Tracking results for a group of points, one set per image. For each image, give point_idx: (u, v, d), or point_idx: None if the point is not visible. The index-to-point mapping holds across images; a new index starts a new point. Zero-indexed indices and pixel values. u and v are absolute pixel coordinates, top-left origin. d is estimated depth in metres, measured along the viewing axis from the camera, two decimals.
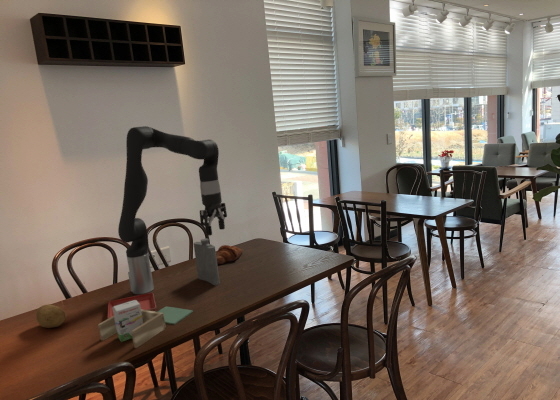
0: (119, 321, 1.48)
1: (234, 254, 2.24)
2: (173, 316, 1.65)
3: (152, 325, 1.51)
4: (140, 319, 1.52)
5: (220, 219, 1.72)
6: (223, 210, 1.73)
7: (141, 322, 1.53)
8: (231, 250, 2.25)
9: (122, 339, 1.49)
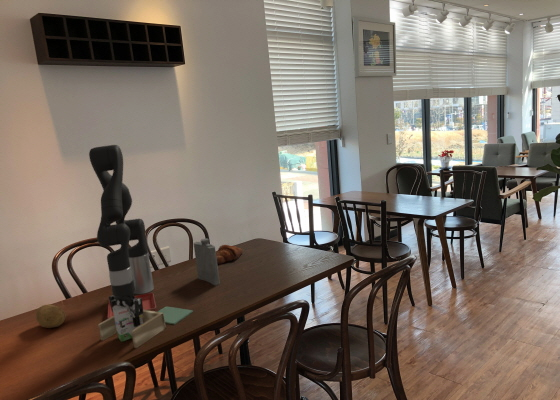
0: (120, 321, 1.48)
1: (234, 254, 2.25)
2: (173, 316, 1.65)
3: (152, 325, 1.51)
4: (140, 319, 1.52)
5: None
6: (116, 302, 1.55)
7: (141, 322, 1.53)
8: (231, 250, 2.26)
9: (122, 339, 1.49)
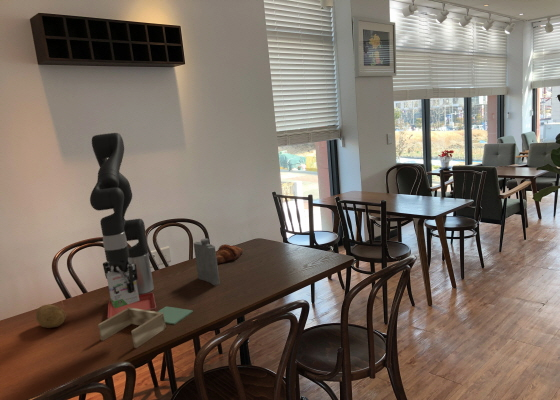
0: (113, 287, 1.46)
1: (234, 253, 2.25)
2: (173, 316, 1.65)
3: (152, 325, 1.51)
4: (134, 285, 1.50)
5: None
6: (110, 268, 1.52)
7: (135, 289, 1.50)
8: (231, 249, 2.26)
9: (116, 305, 1.47)
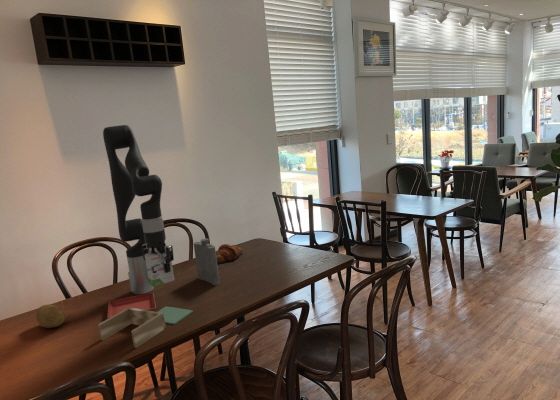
0: (152, 267, 1.58)
1: (234, 253, 2.26)
2: (173, 316, 1.65)
3: (152, 325, 1.51)
4: (170, 266, 1.62)
5: None
6: (148, 250, 1.65)
7: (171, 269, 1.63)
8: (231, 249, 2.27)
9: (154, 284, 1.59)
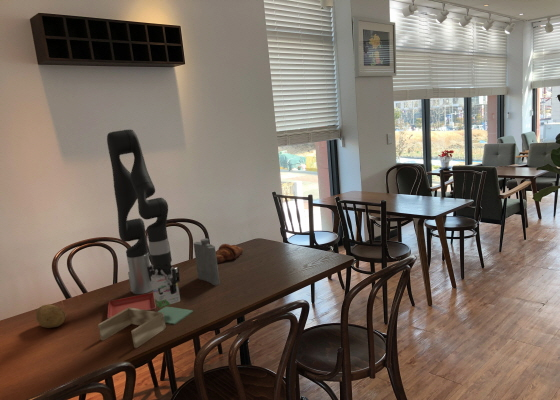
0: (158, 288, 1.61)
1: (233, 253, 2.26)
2: (173, 316, 1.65)
3: (152, 325, 1.51)
4: (176, 287, 1.65)
5: None
6: (154, 272, 1.67)
7: (177, 290, 1.65)
8: (231, 249, 2.27)
9: (160, 305, 1.62)
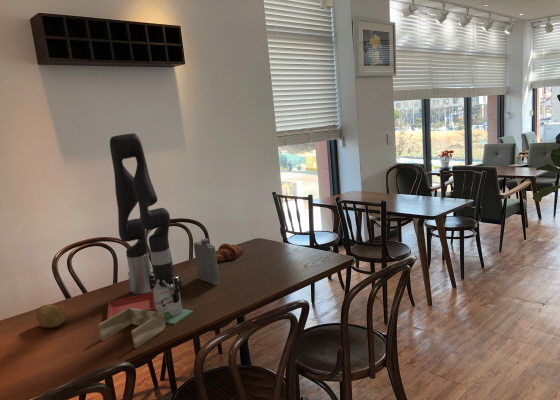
0: (161, 301, 1.61)
1: (233, 253, 2.27)
2: (173, 316, 1.65)
3: (152, 325, 1.51)
4: None
5: None
6: (155, 280, 1.68)
7: (179, 301, 1.66)
8: (231, 249, 2.28)
9: None
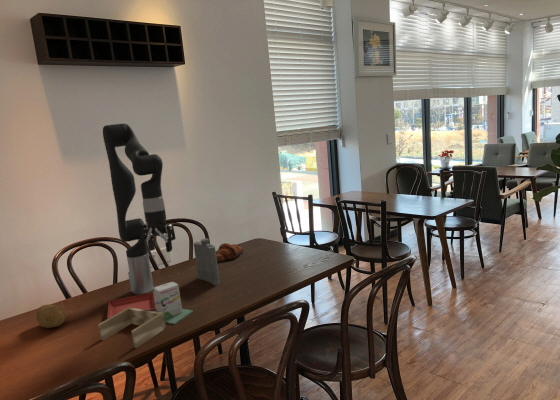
0: (161, 301, 1.61)
1: (233, 252, 2.27)
2: (173, 316, 1.65)
3: (152, 325, 1.51)
4: (178, 299, 1.66)
5: (150, 239, 1.63)
6: (147, 230, 1.64)
7: (179, 301, 1.66)
8: (231, 248, 2.28)
9: None
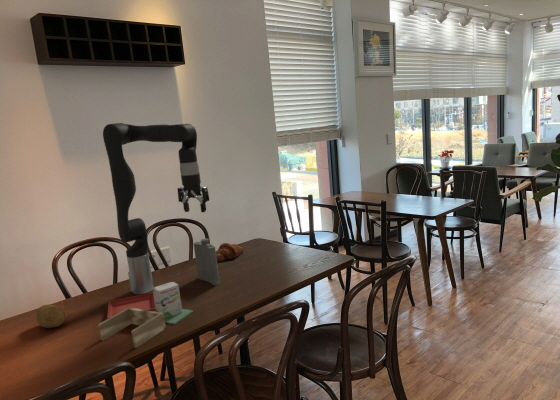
0: (161, 301, 1.61)
1: (233, 252, 2.28)
2: (173, 316, 1.65)
3: (152, 325, 1.51)
4: (178, 299, 1.66)
5: (186, 202, 1.80)
6: (183, 194, 1.81)
7: (179, 301, 1.66)
8: (231, 248, 2.29)
9: None
